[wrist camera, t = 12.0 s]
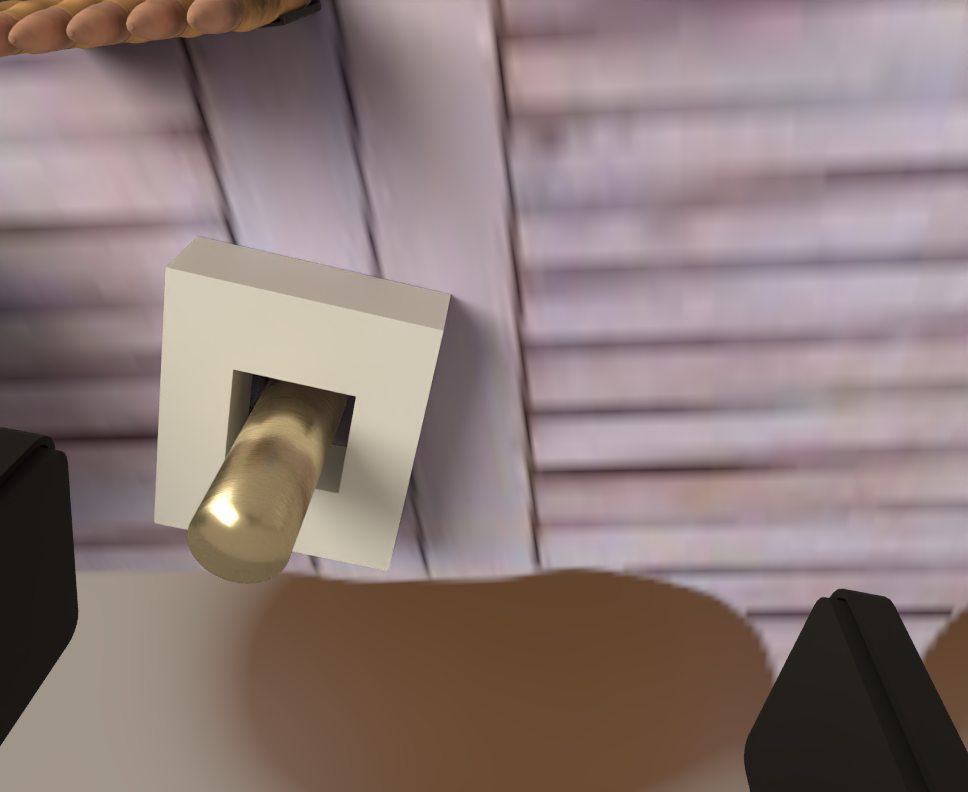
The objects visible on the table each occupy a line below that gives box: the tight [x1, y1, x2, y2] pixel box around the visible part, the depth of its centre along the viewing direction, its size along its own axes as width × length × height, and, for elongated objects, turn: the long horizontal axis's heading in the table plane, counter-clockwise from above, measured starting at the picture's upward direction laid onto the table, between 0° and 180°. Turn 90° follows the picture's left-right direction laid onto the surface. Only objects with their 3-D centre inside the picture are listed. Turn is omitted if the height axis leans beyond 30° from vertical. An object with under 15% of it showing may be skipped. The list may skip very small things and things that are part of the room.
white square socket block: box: [154, 236, 451, 571], centre depth 42 cm, size 12×14×4 cm
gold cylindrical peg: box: [187, 378, 348, 583], centre depth 38 cm, size 4×4×12 cm
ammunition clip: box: [0, 0, 321, 57], centre depth 29 cm, size 11×2×12 cm, turn 96°
